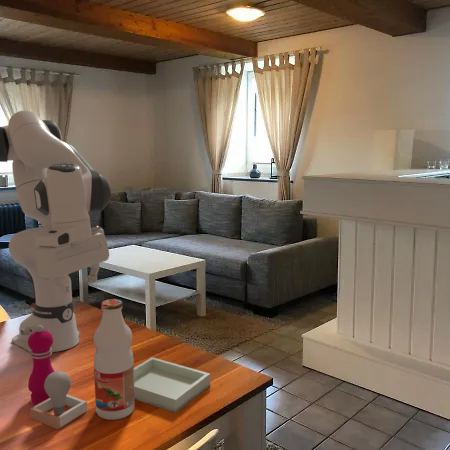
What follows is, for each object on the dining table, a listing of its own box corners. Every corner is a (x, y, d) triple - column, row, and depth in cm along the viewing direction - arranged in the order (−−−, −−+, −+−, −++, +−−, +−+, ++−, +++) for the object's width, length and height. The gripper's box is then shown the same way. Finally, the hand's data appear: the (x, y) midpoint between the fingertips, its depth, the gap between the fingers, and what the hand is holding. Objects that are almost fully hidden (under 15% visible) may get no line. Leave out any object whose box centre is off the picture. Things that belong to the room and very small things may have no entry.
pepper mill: (35, 391, 131) (31, 319, 128) (62, 392, 131) (59, 320, 128) (24, 406, 124) (19, 330, 121) (52, 406, 124) (48, 331, 120)
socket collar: (30, 418, 119) (30, 408, 118) (60, 400, 127) (60, 391, 126) (57, 429, 114) (57, 419, 114) (87, 410, 122) (86, 401, 122)
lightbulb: (64, 422, 117) (62, 379, 115) (40, 419, 118) (38, 376, 116) (77, 409, 123) (75, 367, 121) (54, 406, 124) (52, 365, 122)
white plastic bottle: (141, 412, 122) (139, 303, 117) (106, 425, 116) (102, 311, 111) (123, 396, 129) (120, 293, 124) (89, 408, 123) (84, 300, 118)
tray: (114, 392, 131) (113, 379, 131) (152, 368, 145) (152, 357, 144) (175, 413, 121) (175, 399, 121) (210, 385, 135) (210, 373, 134)
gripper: (93, 223, 129) (99, 275, 131) (28, 240, 111) (37, 299, 114) (111, 224, 126) (117, 276, 128) (48, 241, 108) (56, 301, 111)
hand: (79, 287), depth 121 cm, fingers open, 8 cm apart
